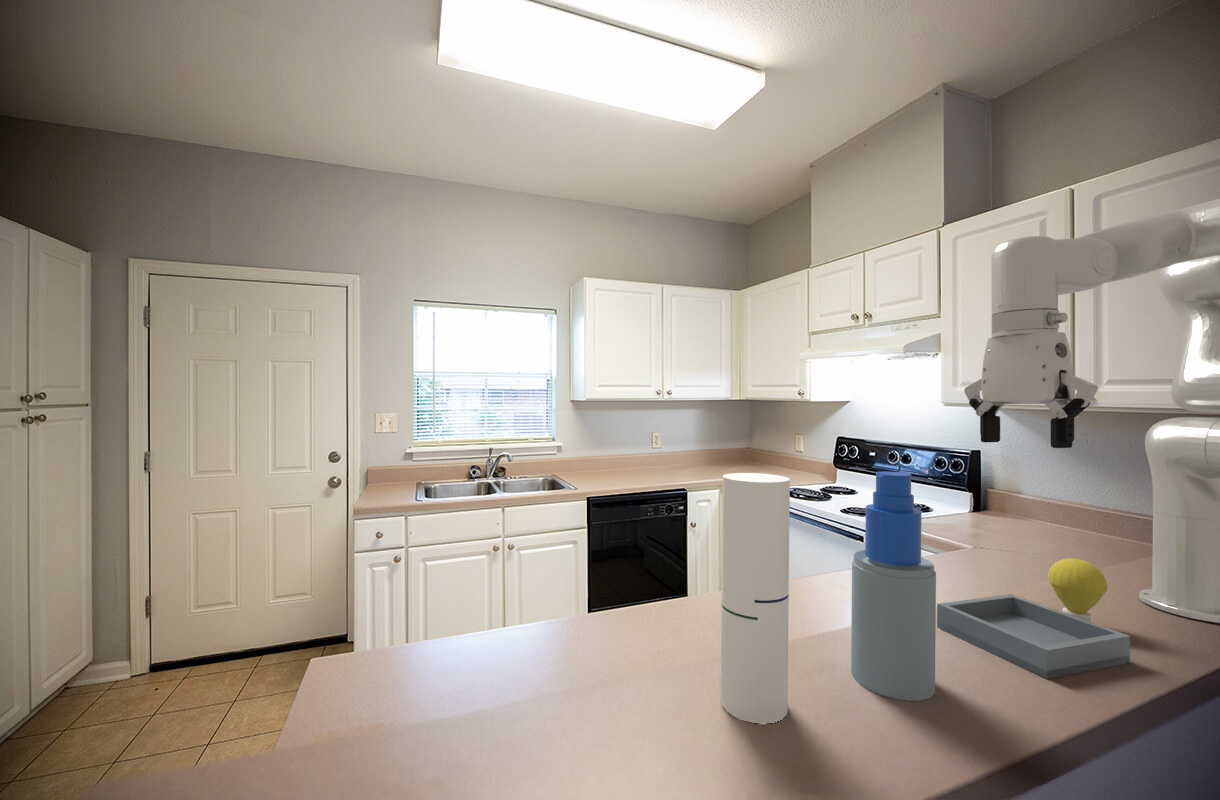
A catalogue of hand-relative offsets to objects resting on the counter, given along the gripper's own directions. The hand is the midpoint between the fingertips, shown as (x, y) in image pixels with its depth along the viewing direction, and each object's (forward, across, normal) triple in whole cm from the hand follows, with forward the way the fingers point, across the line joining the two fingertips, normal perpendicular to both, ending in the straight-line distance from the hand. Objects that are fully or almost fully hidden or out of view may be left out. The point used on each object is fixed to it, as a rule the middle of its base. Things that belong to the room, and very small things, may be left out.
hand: (1023, 444), depth 74 cm
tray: (+28, -2, +2) cm, 28 cm away
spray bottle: (+28, -4, +28) cm, 40 cm away
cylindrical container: (+27, -4, +47) cm, 55 cm away
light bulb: (+28, +1, -12) cm, 30 cm away
